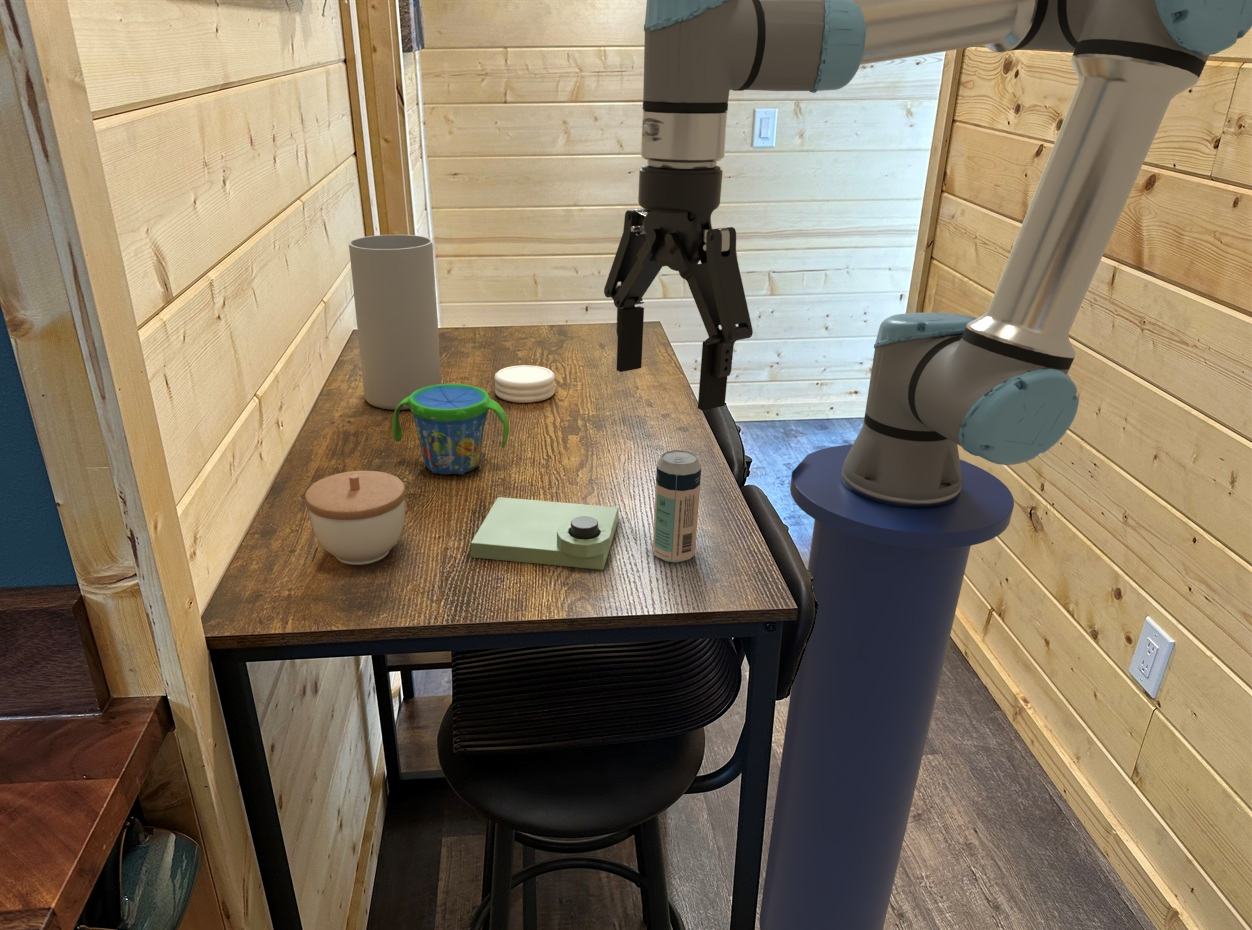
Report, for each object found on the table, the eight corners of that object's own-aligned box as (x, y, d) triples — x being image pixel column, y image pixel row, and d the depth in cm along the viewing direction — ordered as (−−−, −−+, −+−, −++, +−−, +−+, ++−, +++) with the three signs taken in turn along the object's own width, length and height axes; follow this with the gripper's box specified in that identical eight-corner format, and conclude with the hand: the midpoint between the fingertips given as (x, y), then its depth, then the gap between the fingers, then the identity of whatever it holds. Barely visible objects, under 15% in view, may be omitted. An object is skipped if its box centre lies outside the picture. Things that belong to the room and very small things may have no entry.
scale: (621, 521, 110) (622, 495, 109) (606, 574, 99) (606, 546, 97) (498, 510, 113) (497, 484, 111) (468, 561, 101) (467, 533, 100)
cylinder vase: (445, 385, 155) (436, 234, 144) (438, 411, 144) (427, 249, 133) (371, 386, 155) (356, 234, 144) (358, 411, 144) (341, 249, 132)
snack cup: (518, 456, 128) (516, 387, 123) (496, 487, 119) (493, 414, 114) (413, 446, 131) (408, 378, 126) (384, 476, 122) (377, 404, 117)
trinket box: (358, 521, 110) (350, 450, 106) (429, 543, 105) (423, 469, 101) (293, 559, 102) (281, 483, 97) (366, 585, 97) (357, 506, 93)
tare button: (599, 529, 102) (600, 517, 101) (595, 542, 99) (595, 529, 98) (573, 527, 102) (573, 514, 101) (568, 539, 99) (568, 527, 99)
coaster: (560, 385, 155) (560, 366, 154) (548, 405, 146) (548, 384, 145) (503, 382, 157) (502, 362, 155) (488, 401, 148) (487, 381, 146)
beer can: (696, 547, 105) (704, 450, 99) (692, 567, 100) (699, 467, 95) (655, 542, 106) (660, 446, 100) (649, 562, 101) (654, 463, 96)
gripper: (573, 152, 90) (570, 360, 100) (742, 180, 71) (719, 433, 81) (634, 149, 94) (627, 350, 103) (811, 175, 75) (782, 418, 84)
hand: (667, 387), depth 92 cm, fingers open, 13 cm apart
